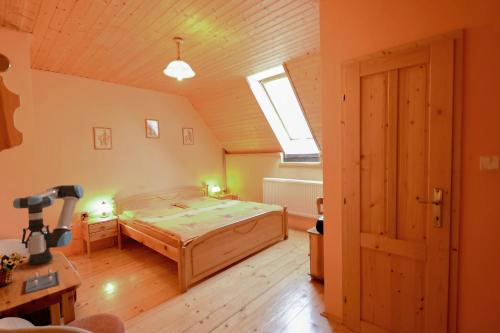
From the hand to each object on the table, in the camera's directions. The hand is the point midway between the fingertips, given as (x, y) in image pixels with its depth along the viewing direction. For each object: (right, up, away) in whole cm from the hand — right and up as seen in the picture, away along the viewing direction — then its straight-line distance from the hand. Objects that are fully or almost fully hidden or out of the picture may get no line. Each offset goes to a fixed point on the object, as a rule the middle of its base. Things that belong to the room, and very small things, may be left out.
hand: (37, 250), depth 170 cm
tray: (+13, -17, -11) cm, 24 cm away
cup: (0, -1, 0) cm, 1 cm away
